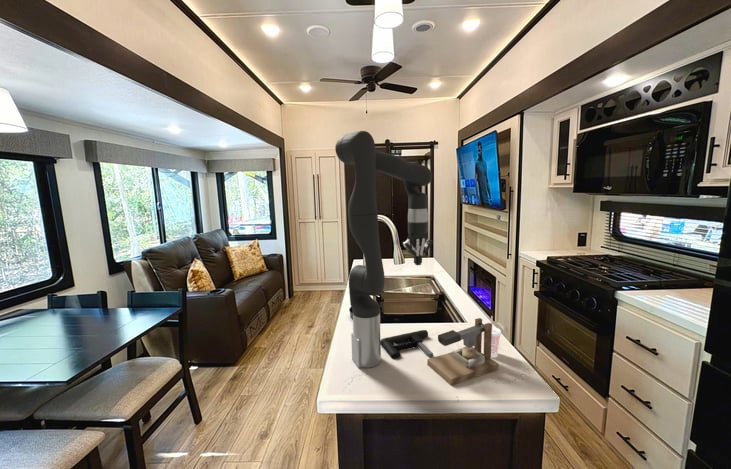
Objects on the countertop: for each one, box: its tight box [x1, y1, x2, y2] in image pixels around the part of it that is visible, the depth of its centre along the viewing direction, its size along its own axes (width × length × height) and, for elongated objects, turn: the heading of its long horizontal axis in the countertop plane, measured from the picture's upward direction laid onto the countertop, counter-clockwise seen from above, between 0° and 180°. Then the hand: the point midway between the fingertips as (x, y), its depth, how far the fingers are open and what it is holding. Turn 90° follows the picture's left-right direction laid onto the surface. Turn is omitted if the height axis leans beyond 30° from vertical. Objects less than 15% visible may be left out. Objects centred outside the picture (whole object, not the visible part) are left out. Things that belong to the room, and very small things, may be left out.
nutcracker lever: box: [437, 322, 485, 348], centre depth 97 cm, size 18×4×6 cm, turn 113°
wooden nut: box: [462, 346, 475, 360], centre depth 99 cm, size 4×4×4 cm
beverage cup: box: [482, 315, 502, 359], centre depth 105 cm, size 6×6×14 cm
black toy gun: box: [380, 329, 434, 360], centre depth 111 cm, size 3×20×16 cm
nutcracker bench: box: [426, 317, 500, 386], centre depth 97 cm, size 19×12×14 cm, turn 113°
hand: (418, 264), depth 117 cm, fingers closed
